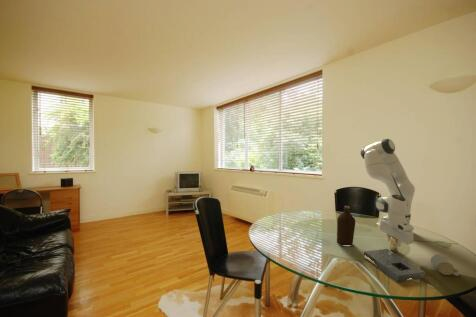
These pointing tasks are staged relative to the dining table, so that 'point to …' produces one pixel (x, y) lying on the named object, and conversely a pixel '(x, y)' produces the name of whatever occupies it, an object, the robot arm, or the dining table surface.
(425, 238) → the dining table surface
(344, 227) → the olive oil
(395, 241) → the brass bushing
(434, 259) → the ceramic mug
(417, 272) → the metal jig
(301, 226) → the dining table surface
